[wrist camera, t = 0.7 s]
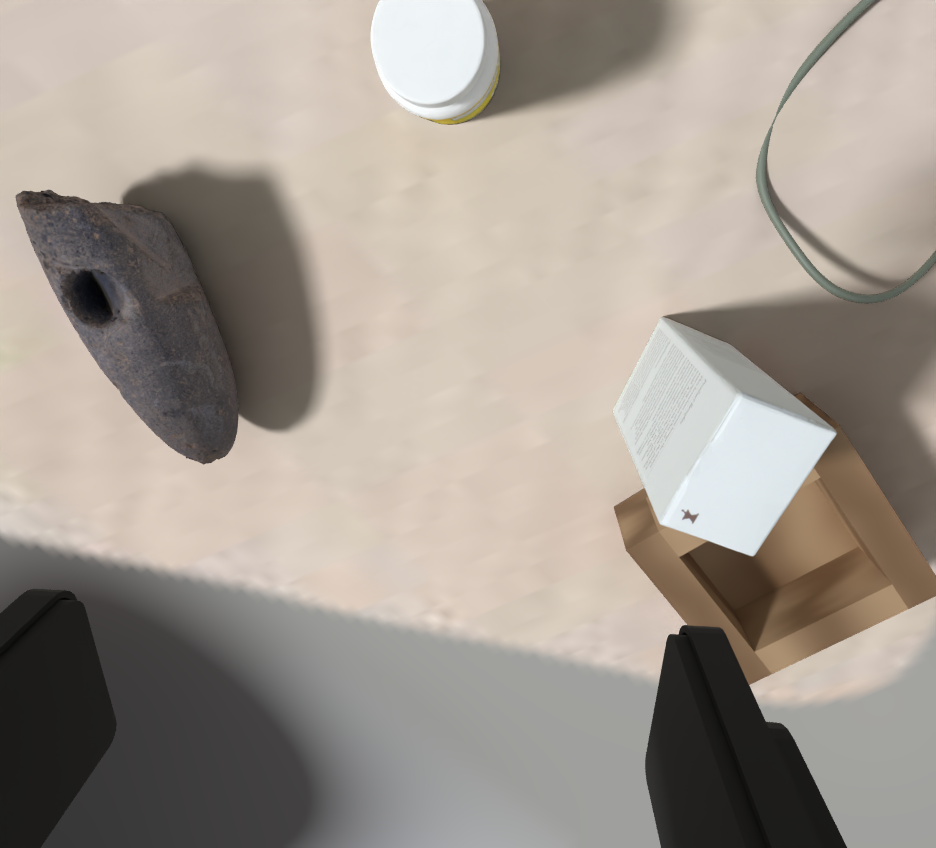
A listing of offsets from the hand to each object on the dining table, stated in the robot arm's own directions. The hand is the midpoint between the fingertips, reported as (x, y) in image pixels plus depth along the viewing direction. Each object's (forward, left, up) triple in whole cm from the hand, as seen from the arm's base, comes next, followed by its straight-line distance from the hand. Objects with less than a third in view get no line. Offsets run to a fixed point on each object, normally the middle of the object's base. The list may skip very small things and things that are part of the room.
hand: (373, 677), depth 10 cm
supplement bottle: (-6, -10, -26) cm, 28 cm away
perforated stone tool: (+13, -10, -26) cm, 30 cm away
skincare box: (-6, +9, -26) cm, 28 cm away
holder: (-5, +20, -26) cm, 33 cm away
